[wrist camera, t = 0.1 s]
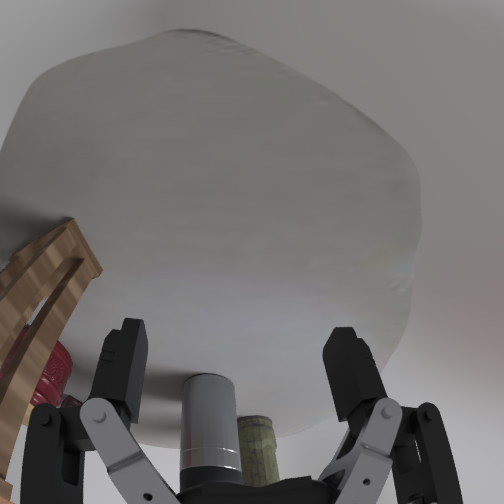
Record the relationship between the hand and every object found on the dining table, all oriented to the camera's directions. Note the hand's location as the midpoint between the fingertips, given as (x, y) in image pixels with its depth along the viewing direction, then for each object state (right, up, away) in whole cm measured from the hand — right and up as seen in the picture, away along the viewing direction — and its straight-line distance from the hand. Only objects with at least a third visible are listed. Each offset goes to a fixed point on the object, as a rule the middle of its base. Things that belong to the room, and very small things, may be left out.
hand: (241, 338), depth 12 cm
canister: (-38, -15, +30) cm, 51 cm away
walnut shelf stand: (-27, +2, +21) cm, 34 cm away
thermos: (+1, -35, +44) cm, 56 cm away
